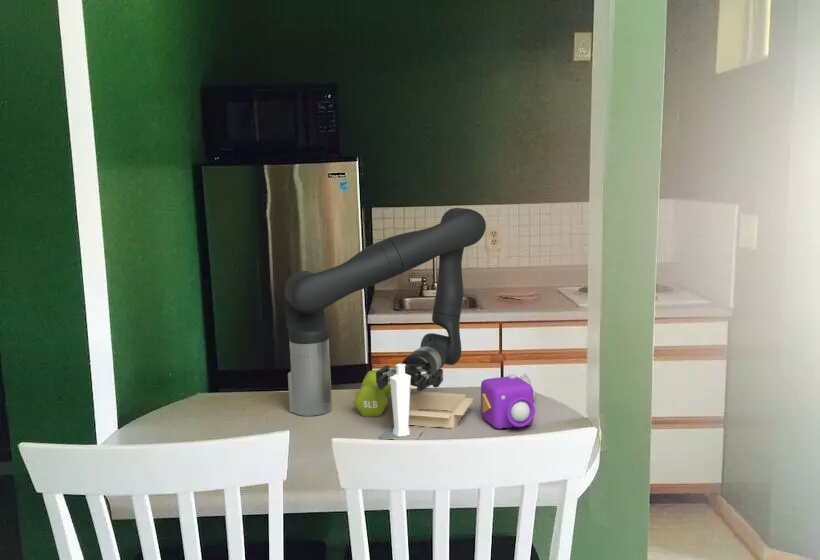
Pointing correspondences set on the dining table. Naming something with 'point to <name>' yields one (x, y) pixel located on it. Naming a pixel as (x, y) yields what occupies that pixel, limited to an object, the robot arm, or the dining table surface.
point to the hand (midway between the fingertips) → (399, 385)
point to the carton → (440, 402)
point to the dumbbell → (372, 396)
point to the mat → (389, 433)
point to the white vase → (400, 400)
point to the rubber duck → (526, 379)
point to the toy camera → (507, 402)
